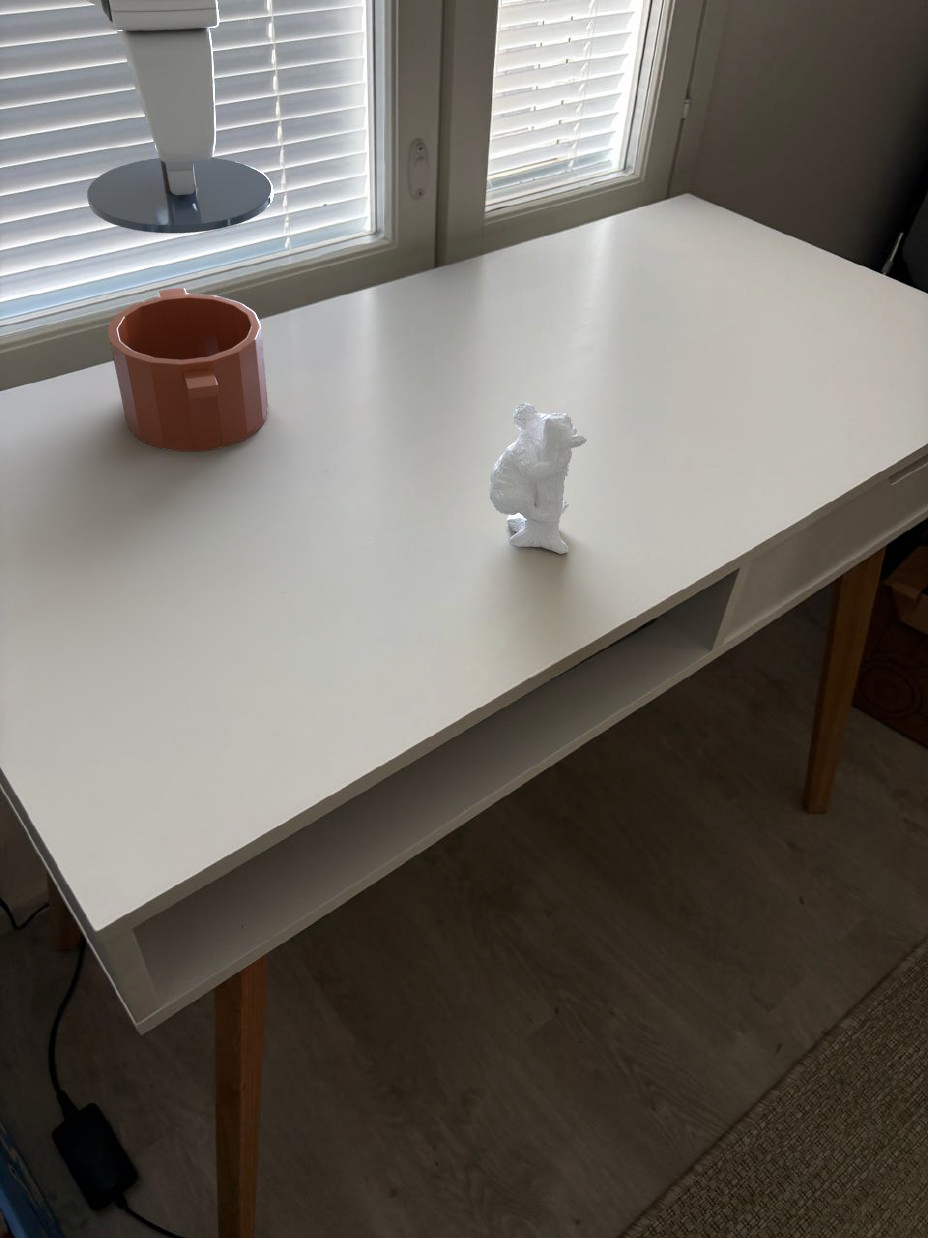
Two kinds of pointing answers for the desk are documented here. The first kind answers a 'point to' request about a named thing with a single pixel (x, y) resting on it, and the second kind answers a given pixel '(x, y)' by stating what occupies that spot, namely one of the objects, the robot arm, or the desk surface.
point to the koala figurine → (535, 477)
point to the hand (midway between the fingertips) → (179, 181)
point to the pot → (190, 370)
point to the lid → (179, 197)
